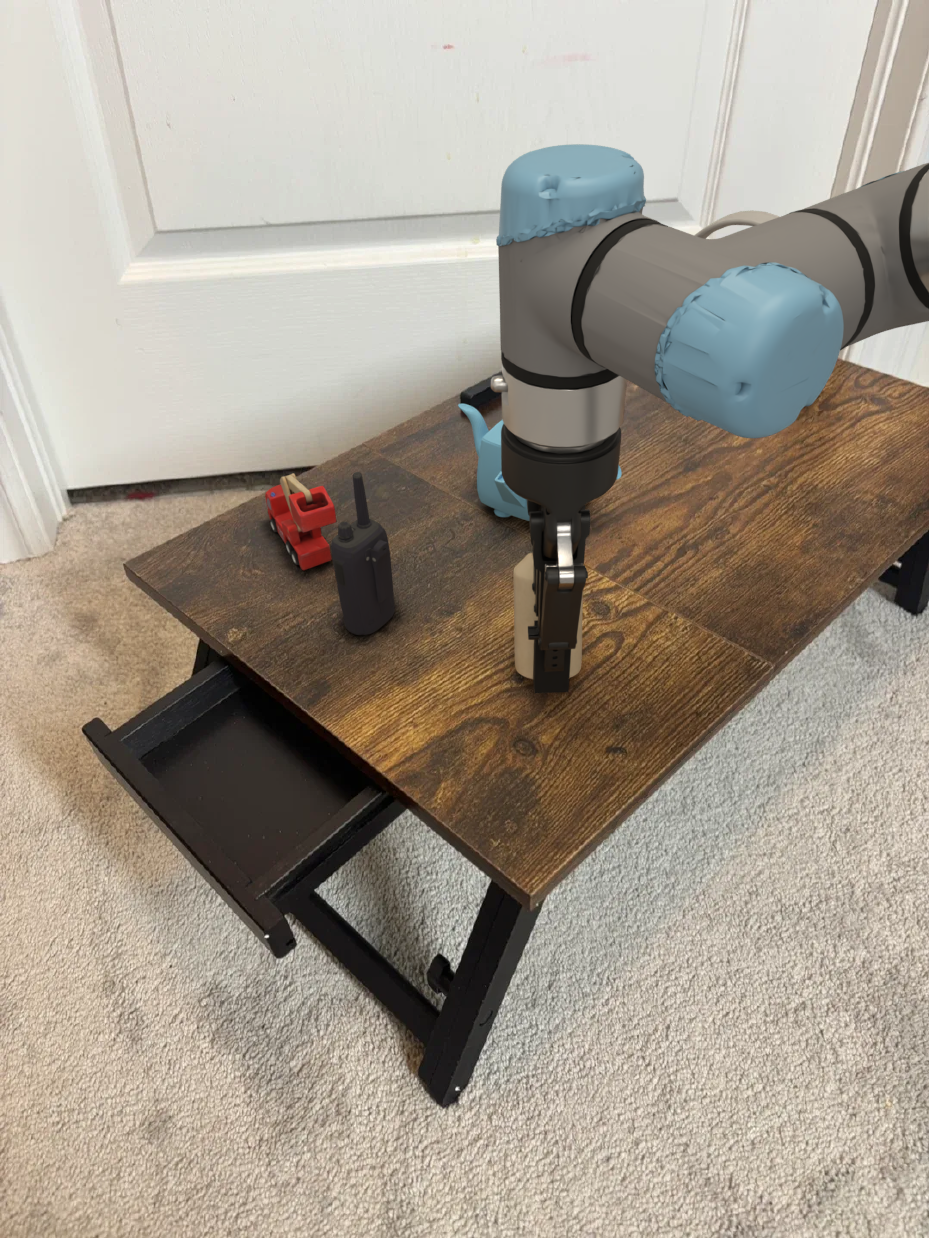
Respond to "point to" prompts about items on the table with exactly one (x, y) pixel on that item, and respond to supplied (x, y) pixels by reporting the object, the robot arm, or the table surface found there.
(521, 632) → the candle
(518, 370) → the robot arm
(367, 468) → the table surface
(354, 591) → the two-way radio
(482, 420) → the teapot
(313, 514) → the toy fire truck
